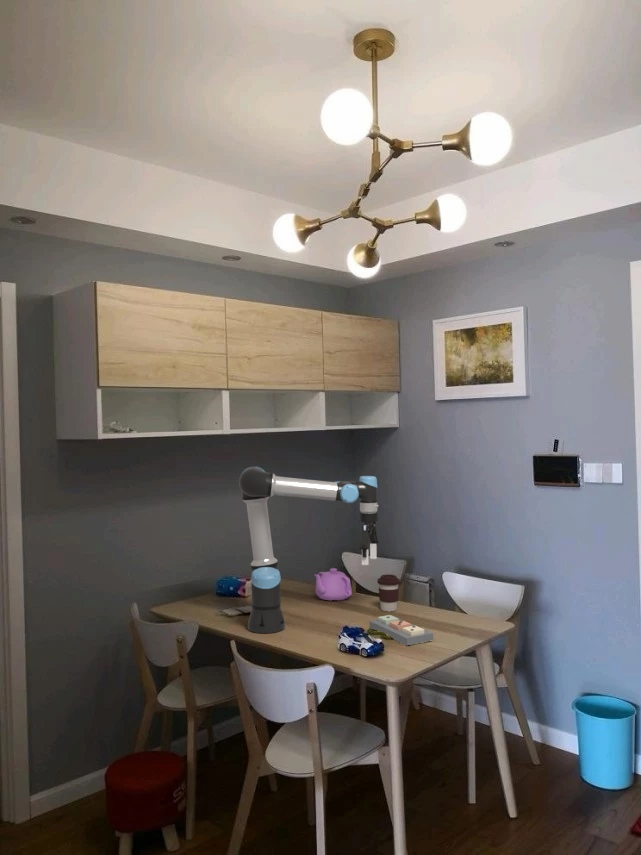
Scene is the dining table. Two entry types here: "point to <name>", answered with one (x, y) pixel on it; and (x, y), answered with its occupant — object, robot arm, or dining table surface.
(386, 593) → the coffee cup
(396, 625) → the tile three
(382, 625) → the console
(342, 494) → the robot arm
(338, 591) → the teapot
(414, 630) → the tile two
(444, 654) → the dining table surface
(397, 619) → the tile one
